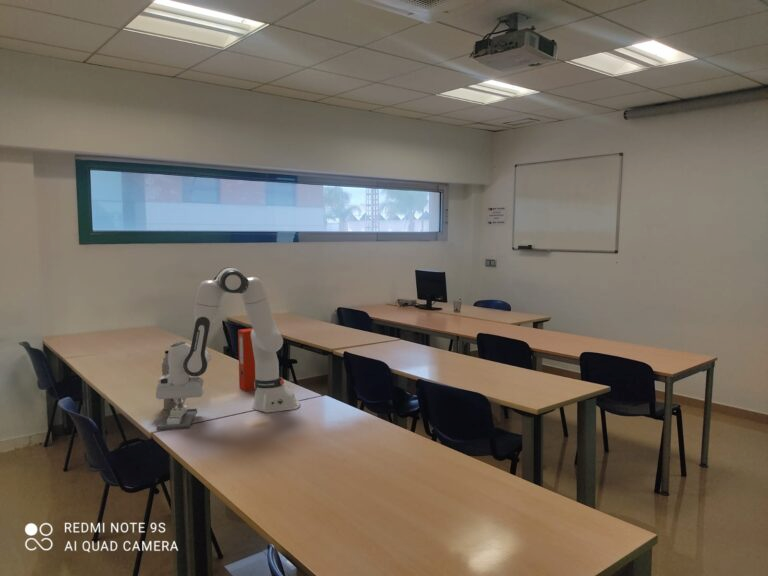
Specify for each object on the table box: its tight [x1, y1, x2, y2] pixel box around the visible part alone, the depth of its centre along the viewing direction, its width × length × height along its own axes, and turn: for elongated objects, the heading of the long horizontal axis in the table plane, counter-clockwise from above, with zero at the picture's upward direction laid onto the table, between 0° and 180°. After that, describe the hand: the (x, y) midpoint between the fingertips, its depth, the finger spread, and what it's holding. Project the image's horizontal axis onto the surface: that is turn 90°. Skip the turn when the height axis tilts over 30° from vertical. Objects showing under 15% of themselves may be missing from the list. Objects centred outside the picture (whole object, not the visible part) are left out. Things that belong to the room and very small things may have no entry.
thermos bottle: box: [161, 349, 182, 411], centre depth 255 cm, size 8×8×28 cm
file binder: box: [237, 327, 256, 392], centre depth 290 cm, size 8×17×32 cm, turn 126°
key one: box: [175, 404, 189, 414], centre depth 246 cm, size 5×5×2 cm
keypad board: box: [156, 407, 198, 431], centre depth 239 cm, size 13×21×2 cm, turn 10°
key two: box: [170, 408, 185, 416], centre depth 239 cm, size 5×5×2 cm
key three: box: [167, 415, 182, 425], centre depth 232 cm, size 5×5×2 cm
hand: (180, 407), depth 245 cm, fingers closed, pressing on key one
